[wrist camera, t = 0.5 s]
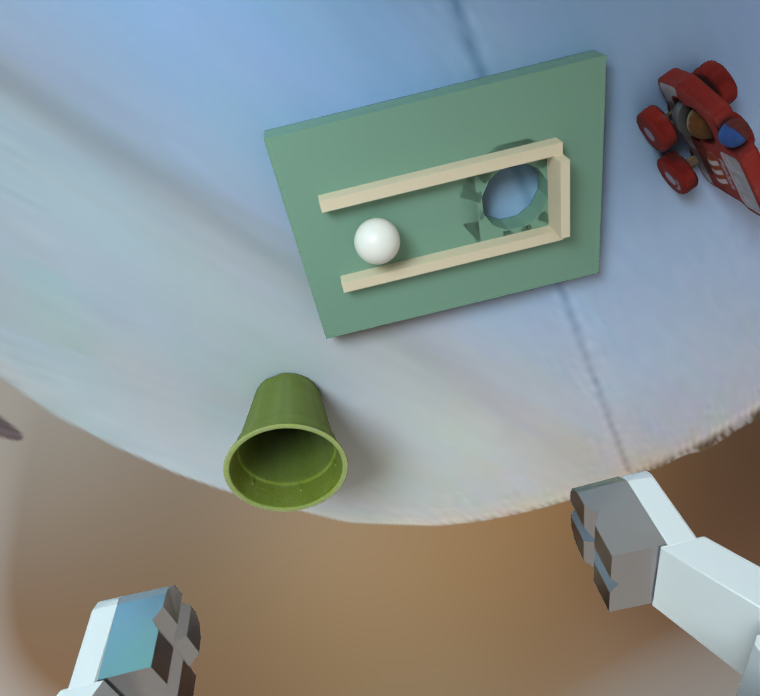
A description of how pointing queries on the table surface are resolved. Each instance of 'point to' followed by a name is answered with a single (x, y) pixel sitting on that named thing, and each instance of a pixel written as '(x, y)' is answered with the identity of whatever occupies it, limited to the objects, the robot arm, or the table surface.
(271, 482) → the plant pot
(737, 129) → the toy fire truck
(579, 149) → the putting mat
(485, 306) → the table surface
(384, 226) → the ball
